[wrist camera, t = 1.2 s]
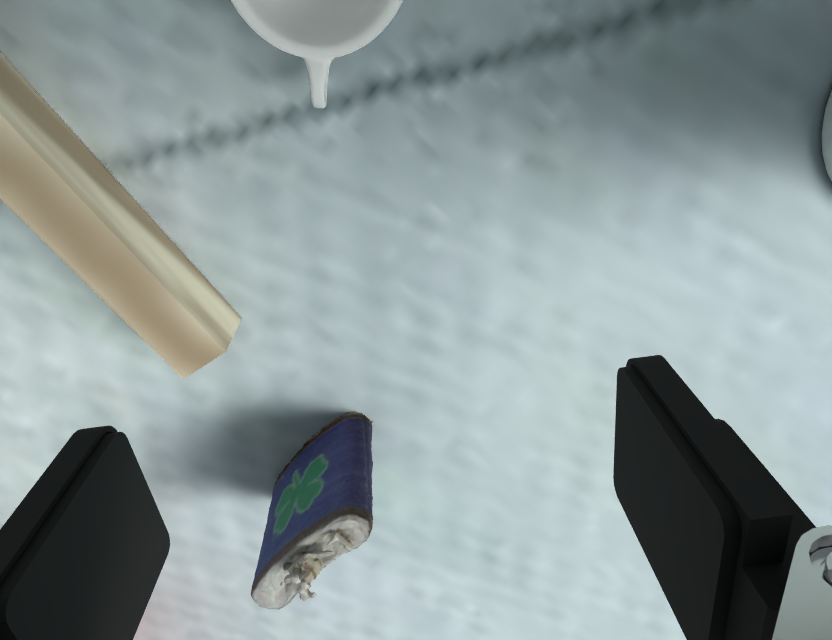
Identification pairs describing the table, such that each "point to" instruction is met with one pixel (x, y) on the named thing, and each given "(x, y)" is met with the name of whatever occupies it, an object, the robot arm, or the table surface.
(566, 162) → the table surface
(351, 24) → the teacup
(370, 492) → the clover hip flask
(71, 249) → the wooden bar
